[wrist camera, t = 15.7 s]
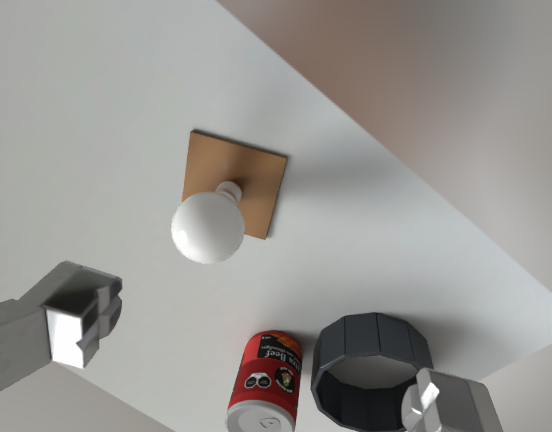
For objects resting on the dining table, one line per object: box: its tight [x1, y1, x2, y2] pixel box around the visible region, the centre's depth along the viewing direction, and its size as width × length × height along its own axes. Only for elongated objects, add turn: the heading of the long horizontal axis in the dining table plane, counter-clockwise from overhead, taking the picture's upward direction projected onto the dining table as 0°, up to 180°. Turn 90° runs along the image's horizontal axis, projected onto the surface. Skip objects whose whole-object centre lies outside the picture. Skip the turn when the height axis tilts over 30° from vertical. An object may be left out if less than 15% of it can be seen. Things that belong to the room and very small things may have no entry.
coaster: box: [182, 131, 287, 240], centre depth 40 cm, size 10×10×1 cm
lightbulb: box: [171, 181, 245, 264], centre depth 35 cm, size 6×6×11 cm
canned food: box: [225, 331, 303, 432], centre depth 47 cm, size 8×8×11 cm
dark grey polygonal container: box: [311, 313, 434, 432], centre depth 47 cm, size 14×14×6 cm
